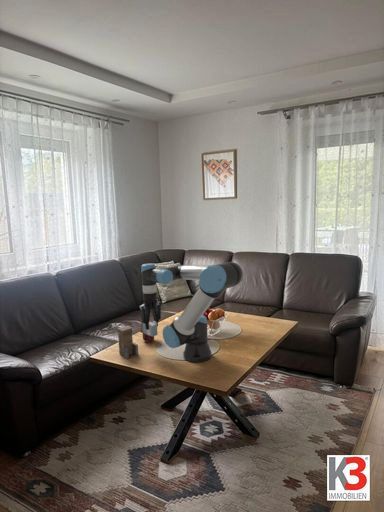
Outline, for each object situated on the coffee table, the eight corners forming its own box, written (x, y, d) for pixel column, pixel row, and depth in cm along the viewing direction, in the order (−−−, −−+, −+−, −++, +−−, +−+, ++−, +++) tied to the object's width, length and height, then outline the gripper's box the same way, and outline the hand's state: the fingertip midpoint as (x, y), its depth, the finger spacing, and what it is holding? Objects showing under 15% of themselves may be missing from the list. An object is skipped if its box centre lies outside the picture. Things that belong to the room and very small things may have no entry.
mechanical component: (158, 338, 229) (154, 344, 220) (143, 337, 231) (138, 343, 222) (157, 319, 228) (152, 324, 218) (142, 318, 230) (137, 323, 220)
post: (118, 354, 206) (116, 329, 204) (129, 350, 211) (127, 325, 209) (126, 358, 199) (125, 332, 197) (138, 355, 204) (136, 329, 202)
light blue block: (157, 334, 201) (157, 324, 200) (152, 336, 199) (151, 325, 198) (147, 330, 209) (146, 320, 208) (141, 332, 206) (141, 321, 206)
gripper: (157, 288, 207) (160, 328, 210) (132, 294, 196) (135, 336, 199) (166, 290, 202) (168, 331, 205) (140, 295, 191) (143, 339, 194)
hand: (152, 333), depth 202 cm, fingers closed on light blue block, 3 cm apart
